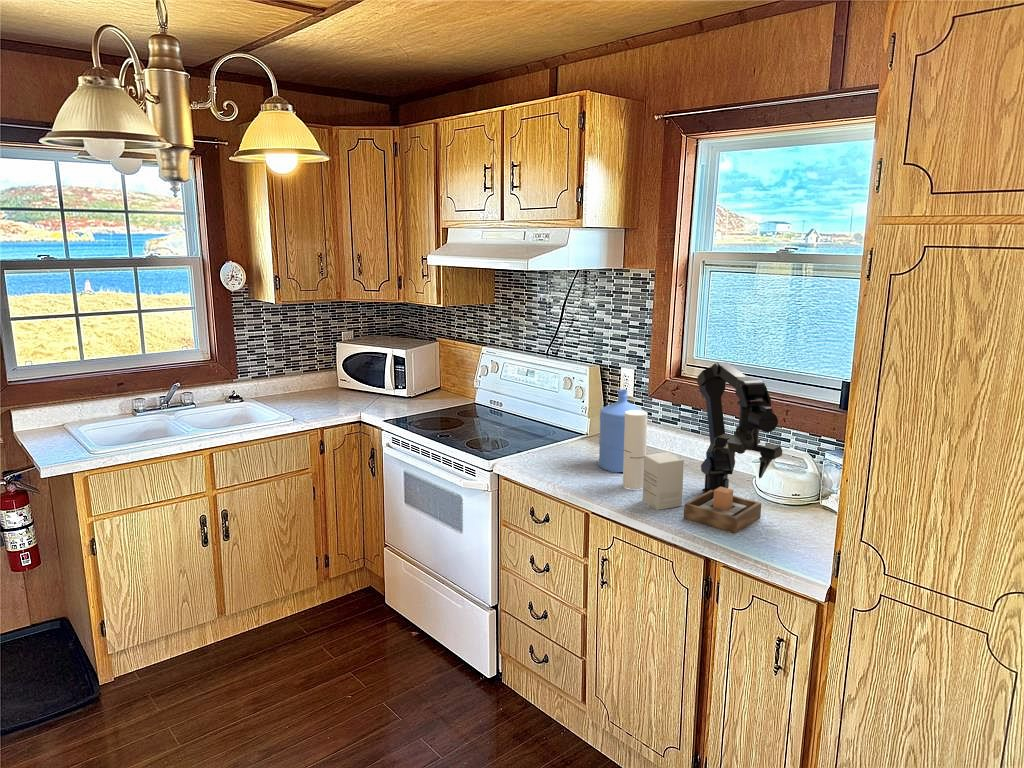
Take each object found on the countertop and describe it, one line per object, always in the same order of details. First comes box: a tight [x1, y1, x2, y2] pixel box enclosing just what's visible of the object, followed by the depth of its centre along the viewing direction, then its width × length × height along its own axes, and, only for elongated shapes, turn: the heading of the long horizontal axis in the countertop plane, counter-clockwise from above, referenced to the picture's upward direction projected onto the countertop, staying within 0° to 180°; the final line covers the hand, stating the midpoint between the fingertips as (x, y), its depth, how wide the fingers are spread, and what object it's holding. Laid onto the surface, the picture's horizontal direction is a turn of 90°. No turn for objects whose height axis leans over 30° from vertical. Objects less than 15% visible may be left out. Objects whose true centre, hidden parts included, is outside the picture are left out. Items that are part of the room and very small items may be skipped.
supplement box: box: [642, 451, 685, 511], centre depth 213 cm, size 9×9×15 cm
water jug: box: [598, 389, 644, 473], centre depth 247 cm, size 16×16×28 cm
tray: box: [683, 490, 762, 535], centre depth 202 cm, size 16×16×4 cm
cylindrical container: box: [622, 410, 648, 490], centre depth 227 cm, size 7×7×25 cm
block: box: [713, 487, 734, 511], centre depth 202 cm, size 4×4×8 cm
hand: (745, 474), depth 205 cm, fingers open, 9 cm apart
